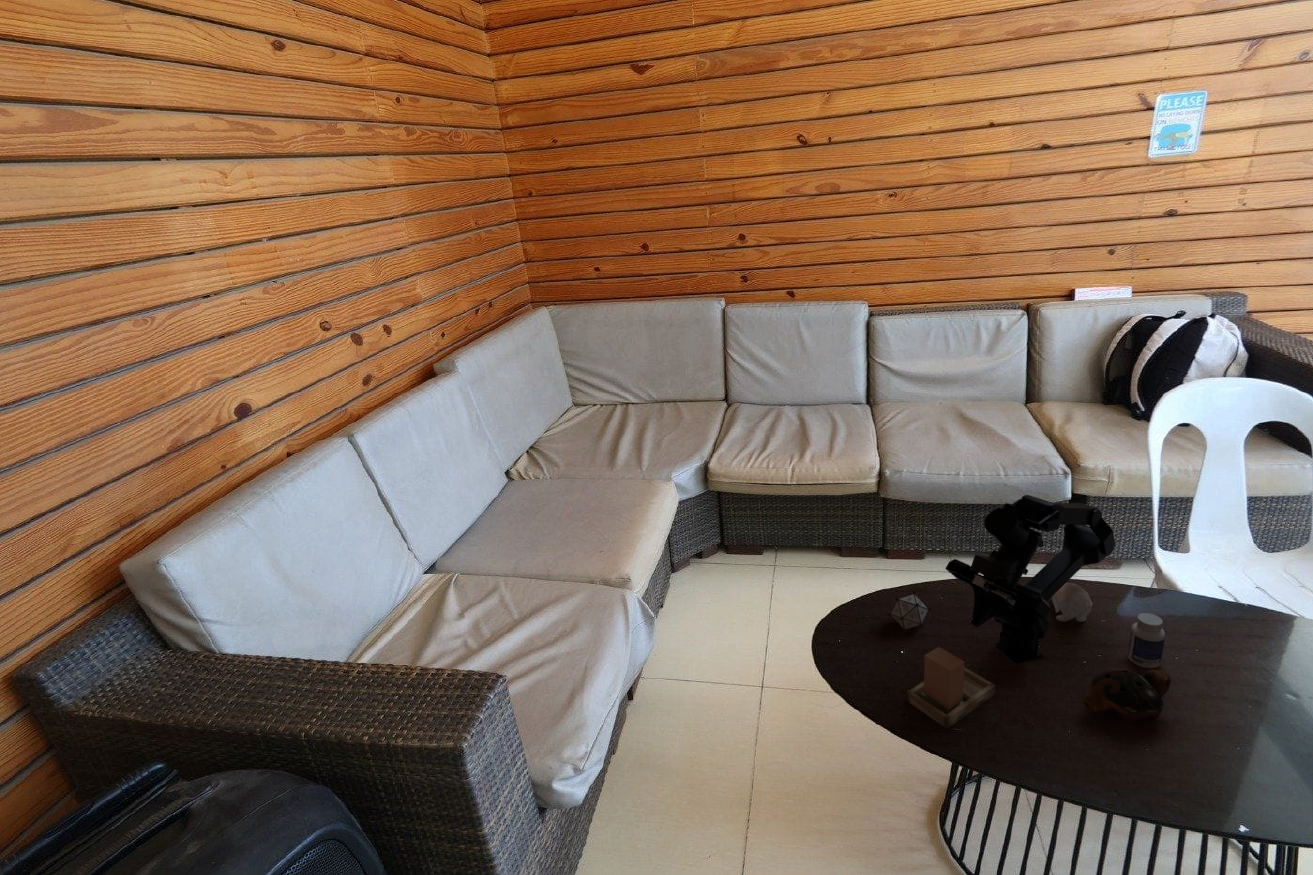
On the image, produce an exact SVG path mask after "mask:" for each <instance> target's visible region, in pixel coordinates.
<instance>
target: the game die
mask: <svg viewBox="0 0 1313 875" xmlns="http://www.w3.org/2000/svg"><path fill="white" fill-rule="evenodd" d="M894 599H895V600H896V601H895V602H894V604H893V607H892V609H891V612H889V613H886V616H888V617H889V616H891V617H892V618H893V619H894V620H895V621H896V622H897V624H898V625H899V626H900V627H901V628H902V629H903V630H902V632H903V634H905V633H906V630H909V629H913V628H916V627H922V628H925V625H924V624H923V623H924V620H925V618H926V616H927V615H928V613H929V611H932V610H933V608H932V607H927V606H926V605H925V604H924V602H923V601H921V599H920V598H919V597H918V596H917V595H916V590H913V591H912V593H911V594H909V595H908V594H907V595H905V596H903V597H902V596H901V597H898V596H894Z"/></svg>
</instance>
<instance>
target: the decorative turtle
mask: <svg viewBox="0 0 1313 875" xmlns="http://www.w3.org/2000/svg"><path fill="white" fill-rule="evenodd" d="M1171 679H1172V678H1171V676H1170V675H1169V673H1167V672H1166V671H1163V670H1159V669H1150V670H1147V671H1145V672H1144V673H1143V674H1142V675H1140V674H1138V673H1137V672H1136V671H1133V670H1131V669H1123V668H1122V669H1121V668H1120V669H1119V668H1118V669H1110V670H1107V671H1103V672H1101V673H1099V674H1097V675H1096V676H1094V677H1093V679H1091V682H1090V685H1089V686H1090V691H1089V693H1087V694H1085V695H1084V696H1083V697H1082V699H1081V700H1082V702H1083V704H1084V706H1085V708H1086V709H1087V710H1088V711H1089V712H1091V713H1094V714H1096V713H1101V712H1107V711H1110V712H1111V711H1113V712H1114V713H1115V712H1116V713H1117V714H1118V715H1119V717H1120V718H1121V720H1122V721H1123V722H1124V723H1125V724H1128V725H1130V724H1131V725H1132V724H1134V723H1136V722H1139V721H1141V720H1142V719H1146V720H1149V721H1155V720H1158V718H1159V717H1160V715H1161V713H1162V711H1163V709H1164V700H1163V697H1164V696H1165V695H1166V694H1167V692H1168V691H1169V688H1170V686H1171V681H1172V680H1171Z"/></svg>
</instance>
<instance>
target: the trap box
mask: <svg viewBox="0 0 1313 875" xmlns="http://www.w3.org/2000/svg"><path fill="white" fill-rule="evenodd" d="M995 695H996V685H995V684H994V683H992V682H990V681H989V680H988V679H985V678H984V677H982V676H980V675H979V674H977V673H975V672H973V671H972V670H970V669H968V668H966V667H965V666H964V686H963V701H961V702H960V703H959V704H957V705H956V706H954V707H953V708H951V709H950V710H948V709H947V708H945V707H944V706H942V705H940V704H939V703H937V702H936V701H934V700H933V699H931V698H930V697H928V696H927V695H925V694H924V680H923V681H922V682H920V683H919V684H918V685H916V686H914V687H913V688H911V689H909V690H908V691H907V692H906V702H908V703H909V704H910V705H912V706H914V708H916V709H918V710H919V711H920V712H922V713H923V714H925V715H927V716H929V717H930V718H931V719H933V720H934V721H935V722H936V723H938V724H940V725H941V726H943V727H944V728H945V729H949V728H950V727H952V726H953V725H954V724H956V723H957V722H959V721H961V719H963V718H964V717H966V716H967V715H968V714H970V713H972V712H973V711H974V710H976V709H977V708H978V707H980V706H981V705H982V704H984V703H985V702H987V701H988V700H990V698H992V697H994V696H995Z"/></svg>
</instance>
